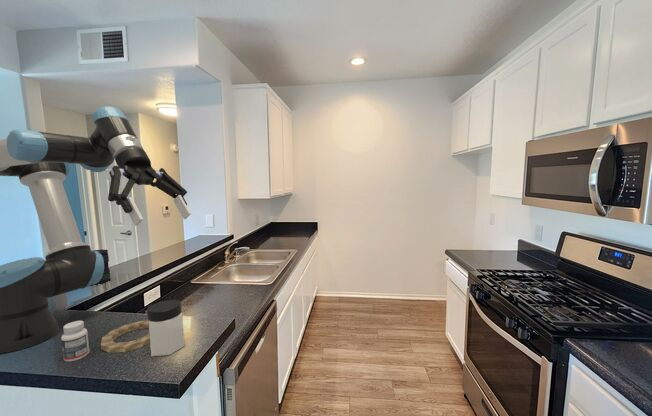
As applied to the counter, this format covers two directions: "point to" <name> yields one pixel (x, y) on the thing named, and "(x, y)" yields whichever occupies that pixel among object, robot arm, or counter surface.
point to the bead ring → (114, 347)
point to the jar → (165, 327)
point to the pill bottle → (74, 341)
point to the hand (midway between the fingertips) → (165, 219)
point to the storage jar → (106, 272)
